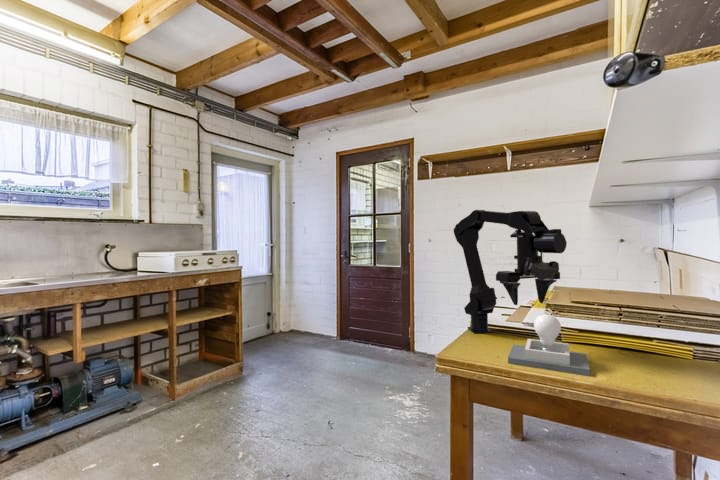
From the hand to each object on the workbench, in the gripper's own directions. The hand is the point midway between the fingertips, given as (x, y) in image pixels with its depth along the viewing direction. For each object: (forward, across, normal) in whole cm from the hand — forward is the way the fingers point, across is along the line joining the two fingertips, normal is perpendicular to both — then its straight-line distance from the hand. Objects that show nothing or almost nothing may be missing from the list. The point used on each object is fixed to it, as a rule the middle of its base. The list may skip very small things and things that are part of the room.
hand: (528, 303), depth 102 cm
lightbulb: (+12, -4, -11) cm, 17 cm away
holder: (+13, -4, -11) cm, 18 cm away
